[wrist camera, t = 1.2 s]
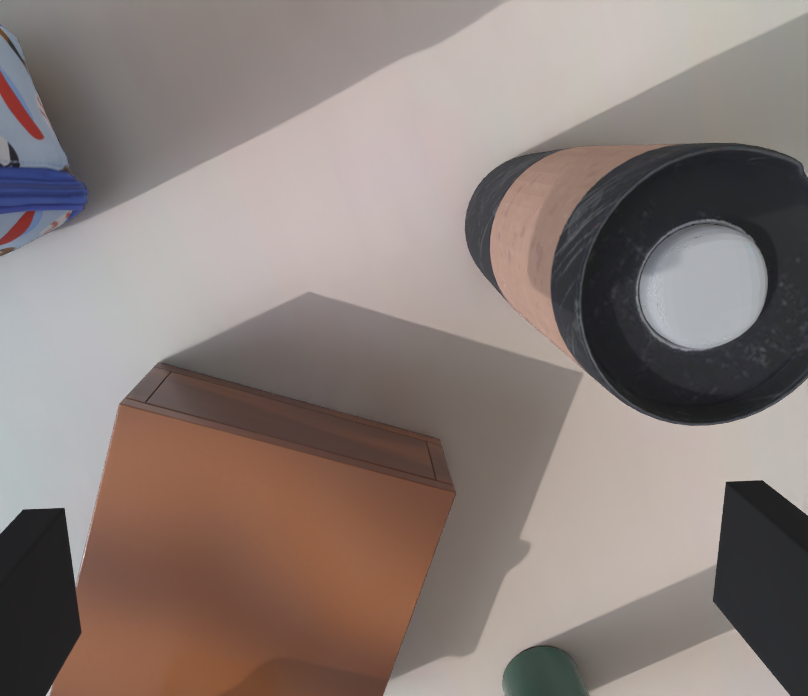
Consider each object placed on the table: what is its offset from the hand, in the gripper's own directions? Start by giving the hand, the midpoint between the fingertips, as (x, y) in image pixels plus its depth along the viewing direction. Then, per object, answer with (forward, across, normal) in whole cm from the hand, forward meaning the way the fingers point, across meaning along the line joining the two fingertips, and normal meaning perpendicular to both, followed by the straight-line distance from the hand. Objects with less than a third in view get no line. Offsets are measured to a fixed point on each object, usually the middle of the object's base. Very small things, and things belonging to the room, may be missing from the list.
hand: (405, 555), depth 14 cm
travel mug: (+25, -8, -4) cm, 27 cm away
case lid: (+19, +7, +14) cm, 24 cm away
